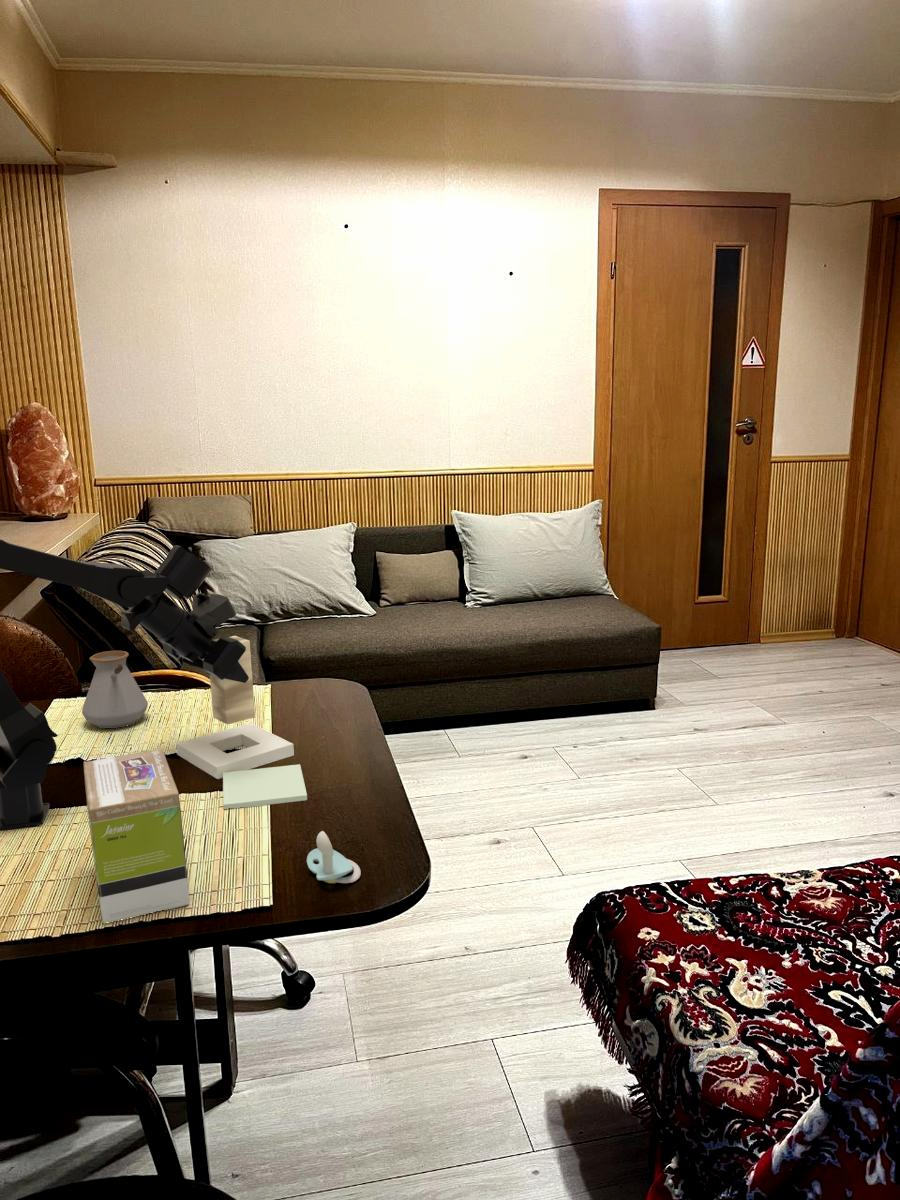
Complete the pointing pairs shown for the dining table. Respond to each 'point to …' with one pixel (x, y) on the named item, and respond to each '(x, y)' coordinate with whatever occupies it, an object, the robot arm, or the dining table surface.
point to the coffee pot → (113, 693)
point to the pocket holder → (216, 762)
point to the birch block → (234, 692)
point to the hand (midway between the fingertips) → (238, 676)
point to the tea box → (136, 835)
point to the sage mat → (263, 786)
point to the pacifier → (331, 863)
